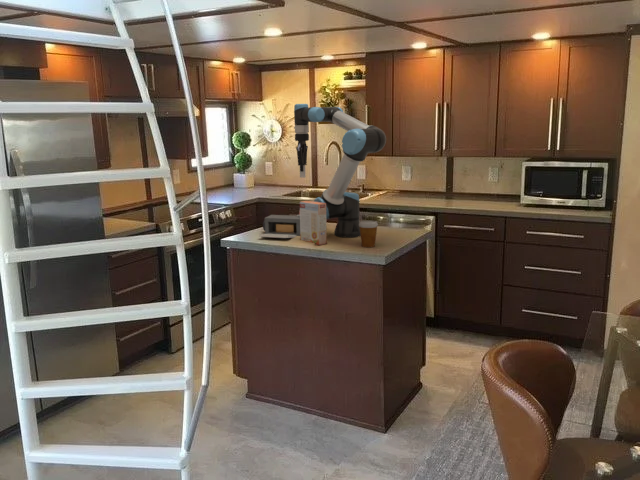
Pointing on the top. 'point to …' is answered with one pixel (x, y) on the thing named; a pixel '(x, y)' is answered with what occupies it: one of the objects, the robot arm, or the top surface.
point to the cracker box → (313, 222)
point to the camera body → (282, 224)
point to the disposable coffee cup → (368, 233)
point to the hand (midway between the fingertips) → (302, 177)
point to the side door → (277, 235)
